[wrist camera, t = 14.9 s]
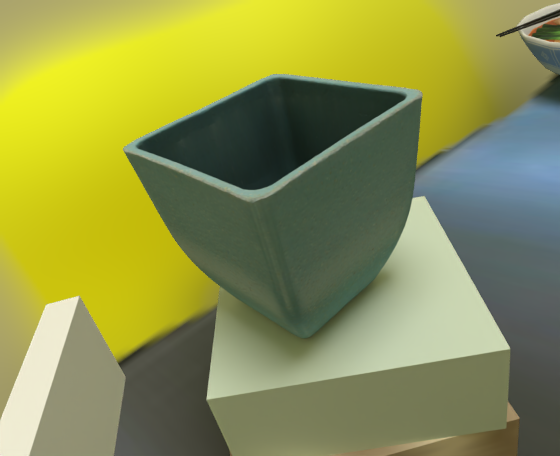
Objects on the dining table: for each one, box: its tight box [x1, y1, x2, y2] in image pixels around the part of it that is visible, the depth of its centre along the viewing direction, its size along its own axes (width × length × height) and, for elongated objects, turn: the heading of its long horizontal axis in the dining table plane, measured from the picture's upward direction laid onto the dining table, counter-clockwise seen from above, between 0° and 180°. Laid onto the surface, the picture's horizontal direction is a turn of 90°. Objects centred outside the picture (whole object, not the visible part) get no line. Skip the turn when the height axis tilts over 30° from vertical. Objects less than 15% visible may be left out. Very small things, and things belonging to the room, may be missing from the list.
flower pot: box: [123, 74, 422, 338], centre depth 22 cm, size 9×9×9 cm
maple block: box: [230, 402, 520, 456], centre depth 28 cm, size 13×13×5 cm
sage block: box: [207, 196, 510, 456], centre depth 26 cm, size 12×12×5 cm
